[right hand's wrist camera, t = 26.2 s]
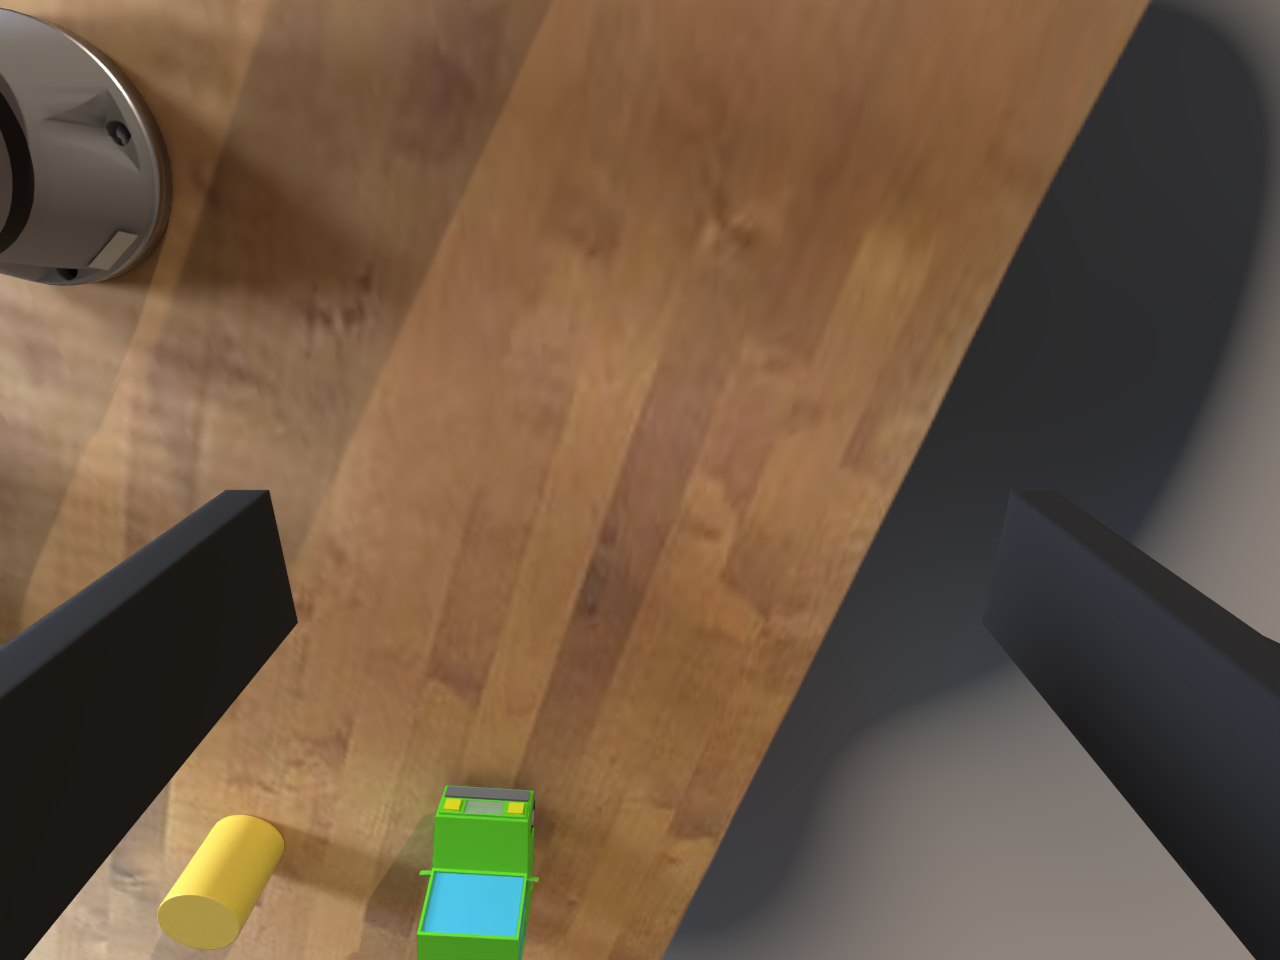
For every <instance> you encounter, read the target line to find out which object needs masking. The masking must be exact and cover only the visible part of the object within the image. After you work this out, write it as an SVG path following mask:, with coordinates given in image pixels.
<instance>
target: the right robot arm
mask: <svg viewBox="0 0 1280 960" xmlns="http://www.w3.org/2000/svg"><path fill="white" fill-rule="evenodd" d="M171 201H172V177H171V169H170V163H169V158H168V154H167V150H166V146H165V143H164V140H163V138H162V135H161V132H160V130H159V128H158V125H157V123H156V121H155V119H154V117H153V115H152V113H151V111H150V109H149V107H148V106H147V104H146V103H145V101H144V99H143V98H142V96H141V95H140V93H139V92H138V91H137V89H136V88H135V87H134V85H133V84H132V82H131V81H130V80H129V79H128V78H127V77H126V75H125V74H124V73H123V72H122V71H121V70H120V69H119V68H118V67H117V66H116V65H115V64H114V63H113V62H112V61H111V60H110V59H109V58H108V57H107V56H106V55H104V54H103V53H102V52H101V51H100V50H98V49H97V48H96V47H94V46H93V45H92V44H90V43H89V42H88V41H86V40H84V39H83V38H81V37H80V36H78V35H76V34H75V33H73V32H71V31H69V30H67V29H65V28H63V27H61V26H59V25H56V24H54V23H51V22H49V21H46V20H42V19H39V18H36V17H33V16H29V15H26V14H23V13H19V12H16V11H13V10H8V9H3V8H0V274H4V275H8V276H12V277H16V278H20V279H24V280H28V281H33V282H38V283H44V284H50V285H78V284H85V283H92V282H99V281H104V280H108V279H112V278H115V277H118V276H120V275H123V274H125V273H127V272H128V271H130V270H132V269H133V268H135V267H136V266H138V265H139V264H140V263H142V262H143V261H144V260H145V259H146V258H147V257H148V256H149V255H150V253H151V252H152V251H153V250H154V248H155V247H156V245H157V244H158V242H159V241H160V239H161V237H162V235H163V233H164V230H165V228H166V225H167V222H168V218H169V214H170V209H171ZM297 623H298V621H297V616H296V611H295V607H294V602H293V598H292V593H291V588H290V584H289V579H288V575H287V570H286V565H285V561H284V556H283V552H282V547H281V543H280V538H279V533H278V529H277V524H276V520H275V515H274V510H273V506H272V501H271V497H270V492H269V490H225V491H224V492H222V493H221V494H219V495H218V496H217V497H215V498H214V499H212V500H211V501H209V502H208V503H207V504H205V505H204V506H202V507H201V508H199V509H198V510H197V511H195V512H194V513H192V514H191V515H189V516H188V517H186V518H185V519H184V520H182V521H181V522H179V523H178V524H176V525H175V526H174V527H172V528H171V529H169V530H168V531H166V532H165V533H164V534H162V535H161V536H159V537H158V538H156V539H155V540H153V541H152V542H151V543H149V544H148V545H146V546H145V547H143V548H142V549H141V550H139V551H138V552H136V553H135V554H133V555H132V556H131V557H129V558H128V559H126V560H125V561H123V562H122V563H120V564H119V565H118V566H116V567H115V568H113V569H112V570H110V571H109V572H108V573H106V574H105V575H103V576H102V577H100V578H99V579H98V580H96V581H95V582H93V583H92V584H90V585H89V586H87V587H86V588H85V589H83V590H82V591H80V592H79V593H77V594H76V595H75V596H73V597H72V598H70V599H69V600H67V601H66V602H65V603H63V604H62V605H60V606H59V607H57V608H56V609H54V610H53V611H52V612H50V613H49V614H47V615H46V616H44V617H43V618H42V619H40V620H39V621H37V622H36V623H34V624H33V625H32V626H30V627H29V628H27V629H26V630H24V631H23V632H22V633H20V634H19V635H17V636H16V637H14V638H13V639H11V640H10V641H9V642H7V643H6V644H4V645H3V646H1V647H0V960H24V959H25V958H26V957H27V956H28V954H29V953H30V952H31V951H32V949H33V948H34V947H35V946H36V945H37V943H38V942H39V941H40V940H41V938H42V937H43V936H44V935H45V933H46V932H47V931H48V930H49V929H50V927H51V926H52V925H53V924H54V922H55V921H56V920H57V919H58V917H59V916H60V915H61V914H62V913H63V911H64V910H65V909H66V908H67V906H68V905H69V904H70V903H71V901H72V900H73V899H74V898H75V897H76V895H77V894H78V893H79V892H80V890H81V889H82V888H83V887H84V885H85V884H86V883H87V882H88V880H89V879H90V878H91V877H92V876H93V874H94V873H95V872H96V871H97V869H98V868H99V867H100V866H101V864H102V863H103V862H104V861H105V860H106V858H107V857H108V856H109V855H110V853H111V852H112V851H113V850H114V848H115V847H116V846H117V845H118V844H119V842H120V841H121V840H122V839H123V837H124V836H125V835H126V834H127V832H128V831H129V830H130V829H131V828H132V826H133V825H134V824H135V823H136V821H137V820H138V819H139V818H140V816H141V815H142V814H143V813H144V812H145V810H146V809H147V808H148V807H149V805H150V804H151V803H152V802H153V800H154V799H155V798H156V797H157V796H158V794H159V793H160V792H161V791H162V789H163V788H164V787H165V786H166V784H167V783H168V782H169V781H170V780H171V778H172V777H173V776H174V775H175V773H176V772H177V771H178V770H179V768H180V767H181V766H182V765H183V764H184V762H185V761H186V760H187V759H188V757H189V756H190V755H191V754H192V752H193V751H194V750H195V749H196V747H197V746H198V745H199V744H200V743H201V741H202V740H203V739H204V738H205V736H206V735H207V734H208V733H209V731H210V730H211V729H212V728H213V727H214V725H215V724H216V723H217V722H218V720H219V719H220V718H221V717H222V715H223V714H224V713H225V712H226V711H227V709H228V708H229V707H230V706H231V704H232V703H233V702H234V701H235V699H236V698H237V697H238V696H239V695H240V693H241V692H242V691H243V690H244V688H245V687H246V686H247V685H248V683H249V682H250V681H251V680H252V679H253V677H254V676H255V675H256V674H257V672H258V671H259V670H260V669H261V667H262V666H263V665H264V664H265V663H266V661H267V660H268V659H269V658H270V656H271V655H272V654H273V653H274V651H275V650H276V649H277V648H278V647H279V645H280V644H281V643H282V642H283V640H284V639H285V638H286V637H287V635H288V634H289V633H290V632H291V631H292V629H293V628H294V627H295V626H296V624H297ZM982 623H983V624H984V626H985V627H986V628H987V629H988V630H989V632H990V633H991V634H992V635H993V637H994V638H995V639H996V640H997V642H998V643H999V644H1000V645H1001V646H1002V648H1003V649H1004V650H1005V651H1006V653H1007V654H1008V655H1009V656H1010V658H1011V659H1012V660H1013V661H1014V663H1015V664H1016V665H1017V666H1018V667H1019V669H1020V670H1021V671H1022V672H1023V674H1024V675H1025V676H1026V677H1027V679H1028V680H1029V681H1030V682H1031V683H1032V685H1033V686H1034V687H1035V688H1036V690H1037V691H1038V692H1039V693H1040V695H1041V696H1042V697H1043V698H1044V699H1045V701H1046V702H1047V703H1048V704H1049V706H1050V707H1051V708H1052V709H1053V710H1054V712H1055V713H1056V714H1057V715H1058V717H1059V718H1060V719H1061V720H1062V722H1063V723H1064V724H1065V725H1066V727H1067V728H1068V729H1069V730H1070V731H1071V733H1072V734H1073V735H1074V736H1075V738H1076V739H1077V740H1078V741H1079V743H1080V744H1081V745H1082V746H1083V747H1084V749H1085V750H1086V751H1087V752H1088V754H1089V755H1090V756H1091V757H1092V759H1093V760H1094V761H1095V762H1096V763H1097V765H1098V766H1099V767H1100V768H1101V770H1102V771H1103V772H1104V773H1105V775H1106V776H1107V777H1108V778H1109V779H1110V781H1111V782H1112V783H1113V784H1114V786H1115V787H1116V788H1117V789H1118V791H1119V792H1120V793H1121V794H1122V795H1123V797H1124V798H1125V799H1126V800H1127V802H1128V803H1129V804H1130V805H1131V807H1132V808H1133V809H1134V810H1135V812H1136V813H1137V814H1138V815H1139V816H1140V818H1141V819H1142V820H1143V821H1144V823H1145V824H1146V825H1147V826H1148V828H1149V829H1150V830H1151V831H1152V832H1153V834H1154V835H1155V836H1156V837H1157V839H1158V840H1159V841H1160V842H1161V844H1162V845H1163V846H1164V847H1165V848H1166V850H1167V851H1168V852H1169V853H1170V855H1171V856H1172V857H1173V858H1174V860H1175V861H1176V862H1177V863H1178V864H1179V866H1180V867H1181V868H1182V869H1183V871H1184V872H1185V873H1186V874H1187V876H1188V877H1189V878H1190V879H1191V880H1192V882H1193V883H1194V884H1195V885H1196V887H1197V888H1198V889H1199V890H1200V892H1201V893H1202V894H1203V895H1204V896H1205V898H1206V899H1207V900H1208V901H1209V903H1210V904H1211V905H1212V906H1213V908H1214V909H1215V910H1216V911H1217V913H1218V914H1219V915H1220V916H1221V917H1222V919H1223V920H1224V921H1225V922H1226V924H1227V925H1228V926H1229V927H1230V928H1231V930H1232V931H1233V932H1234V933H1235V935H1236V936H1237V937H1238V938H1239V940H1240V941H1241V942H1242V943H1243V945H1244V946H1245V947H1246V948H1247V949H1248V951H1249V952H1250V953H1251V954H1252V956H1253V957H1254V958H1255V959H1256V960H1280V644H1279V643H1277V642H1275V641H1273V640H1271V639H1269V638H1267V637H1265V636H1263V635H1261V634H1260V633H1258V632H1257V631H1256V630H1254V629H1253V628H1251V627H1250V626H1248V625H1247V624H1246V623H1244V622H1243V621H1241V620H1240V619H1238V618H1237V617H1236V616H1234V615H1233V614H1231V613H1230V612H1228V611H1227V610H1226V609H1224V608H1223V607H1221V606H1220V605H1218V604H1217V603H1215V602H1214V601H1213V600H1211V599H1210V598H1208V597H1207V596H1205V595H1204V594H1203V593H1201V592H1200V591H1198V590H1197V589H1195V588H1194V587H1192V586H1191V585H1190V584H1188V583H1187V582H1185V581H1184V580H1182V579H1181V578H1180V577H1178V576H1177V575H1175V574H1174V573H1172V572H1171V571H1170V570H1168V569H1167V568H1165V567H1164V566H1162V565H1161V564H1160V563H1158V562H1157V561H1155V560H1154V559H1152V558H1151V557H1149V556H1148V555H1147V554H1145V553H1144V552H1142V551H1141V550H1139V549H1138V548H1136V547H1135V546H1134V545H1132V544H1131V543H1129V542H1128V541H1127V540H1125V539H1124V538H1122V537H1121V536H1119V535H1118V534H1116V533H1115V532H1114V531H1112V530H1111V529H1109V528H1108V527H1106V526H1105V525H1103V524H1102V523H1101V522H1099V521H1098V520H1096V519H1095V518H1094V517H1092V516H1091V515H1089V514H1088V513H1086V512H1085V511H1083V510H1082V509H1081V508H1079V507H1078V506H1076V505H1075V504H1073V503H1072V502H1070V501H1069V500H1068V499H1066V498H1065V497H1063V496H1062V495H1061V494H1059V493H1058V492H1056V491H1055V490H1011V492H1010V497H1009V501H1008V506H1007V510H1006V515H1005V520H1004V524H1003V529H1002V533H1001V538H1000V543H999V547H998V552H997V556H996V561H995V566H994V570H993V575H992V579H991V584H990V588H989V593H988V598H987V602H986V607H985V611H984V616H983V621H982Z"/></svg>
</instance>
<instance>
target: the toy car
mask: <svg viewBox="0 0 1280 960" xmlns="http://www.w3.org/2000/svg"><path fill="white" fill-rule="evenodd" d="M534 810H535V800H534V791H530V790H514V789H497V788H481V787H465V786H448V785H446V786H445V789H444V792H443V795H442V798H441V801H440V804H439V807H438V810H437V813H436V816H435V829H434V846H433V864H432V871H420V874H419V875H431V876H430V880H429V884H428V889H427V893H426V897H425V902H424V906H423V910H422V915H421V919H420V923H419V928H418V932H417V944H418V960H522V956H523V950H524V943H525V937H526V930H527V924H528V917H529V911H530V905H531V898H532V891H533V885H531V882H532V881H534V882H538V880H539V878H540V877H532V873H533V860H534V827H533V822H534V813H535V812H534Z"/></svg>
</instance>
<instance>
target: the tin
mask: <svg viewBox="0 0 1280 960" xmlns="http://www.w3.org/2000/svg"><path fill="white" fill-rule="evenodd" d="M284 848H285V846H284V840H283V838H282V836H281V834H280V833H279V831H278V830H277V829H276V828H275V827H274V826H272V825H271V824H270V823H268V822H266V821H264V820H262V819H260V818H257V817H254V816H249V815H233V816H229V817H226V818H224V819H222V820H220V821H219V822H218V823H217V824H216V825H215V826H214V827H213V829H212V830H211V832H210V833H209V835H208V836H207V838H206V839H205V841H204V842H203V843H202V845H201V846H200V848H199V849H198V851H197V852H196V854H195V855H194V857H193V858H192V860H191V861H190V863H189V864H188V865H187V867H186V868H185V870H184V871H183V873H182V874H181V876H180V877H179V879H178V880H177V882H176V883H175V885H174V886H173V887H172V889H171V890H170V892H169V893H168V895H167V896H166V898H165V899H164V901H163V902H162V904H161V905H160V907H159V909H158V913H157V919H158V922H159V925H160V927H161V928H162V930H163V931H164V932H165V933H166V934H167V935H168V936H169V937H171V938H172V939H173V940H175V941H177V942H179V943H181V944H183V945H185V946H188V947H192V948H196V949H204V950H212V949H219V948H223V947H225V946H228V945H229V944H231V943H232V942H234V941H235V940H236V938H237V937H238V935H239V934H240V932H241V930H242V928H243V926H244V924H245V923H246V921H247V919H248V917H249V915H250V913H251V912H252V910H253V908H254V906H255V904H256V902H257V901H258V899H259V897H260V895H261V893H262V892H263V890H264V888H265V886H266V884H267V882H268V881H269V879H270V877H271V875H272V873H273V871H274V870H275V868H276V866H277V864H278V862H279V860H280V859H281V857H282V855H283V853H284Z"/></svg>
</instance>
